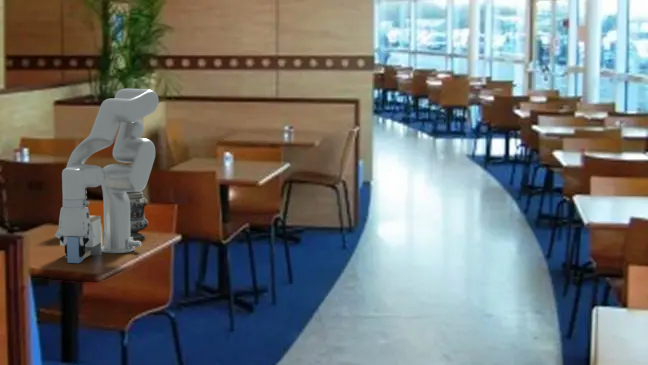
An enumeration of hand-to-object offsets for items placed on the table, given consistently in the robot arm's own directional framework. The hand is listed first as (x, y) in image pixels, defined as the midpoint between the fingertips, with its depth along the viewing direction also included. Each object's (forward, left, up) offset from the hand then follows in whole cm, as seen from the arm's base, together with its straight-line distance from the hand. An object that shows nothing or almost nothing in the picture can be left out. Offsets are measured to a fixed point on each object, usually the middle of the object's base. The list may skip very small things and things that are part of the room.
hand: (75, 255), depth 337 cm
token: (+4, -9, -3) cm, 10 cm away
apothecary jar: (-5, -45, -3) cm, 45 cm away
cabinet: (+2, -10, -2) cm, 10 cm away
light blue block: (0, -5, -2) cm, 5 cm away
